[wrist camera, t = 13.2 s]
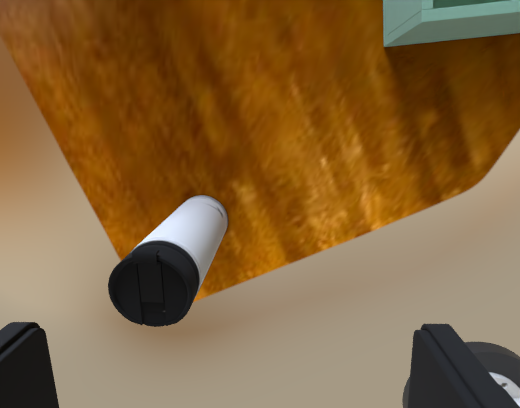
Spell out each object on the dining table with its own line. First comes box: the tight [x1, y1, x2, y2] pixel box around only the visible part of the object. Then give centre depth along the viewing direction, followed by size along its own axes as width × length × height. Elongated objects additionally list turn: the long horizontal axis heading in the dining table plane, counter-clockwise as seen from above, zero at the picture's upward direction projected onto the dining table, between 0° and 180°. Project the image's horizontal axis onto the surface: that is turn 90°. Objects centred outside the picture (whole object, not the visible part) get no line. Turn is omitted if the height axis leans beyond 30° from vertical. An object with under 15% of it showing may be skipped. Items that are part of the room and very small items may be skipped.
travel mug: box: [108, 195, 228, 327], centre depth 36 cm, size 6×7×20 cm
